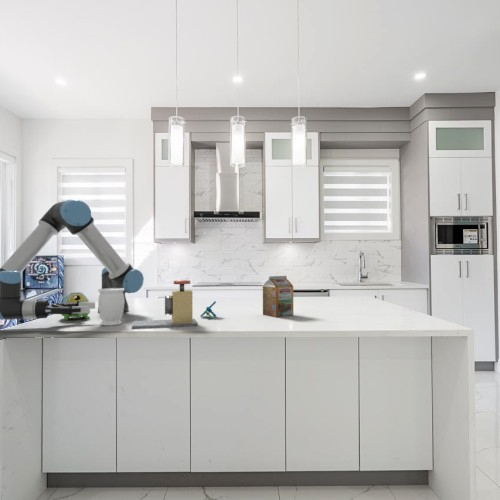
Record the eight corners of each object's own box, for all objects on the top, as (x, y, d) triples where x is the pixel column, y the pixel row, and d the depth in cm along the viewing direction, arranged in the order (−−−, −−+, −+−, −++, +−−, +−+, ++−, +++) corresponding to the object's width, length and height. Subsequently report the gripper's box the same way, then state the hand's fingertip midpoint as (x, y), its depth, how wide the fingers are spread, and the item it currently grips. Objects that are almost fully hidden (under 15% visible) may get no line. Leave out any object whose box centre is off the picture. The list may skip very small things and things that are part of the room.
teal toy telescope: (202, 311, 191) (216, 297, 189) (211, 320, 190) (225, 306, 188) (196, 318, 180) (210, 303, 178) (205, 327, 180) (219, 312, 178)
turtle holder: (65, 323, 168) (65, 295, 168) (58, 317, 183) (58, 292, 183) (95, 320, 175) (95, 294, 175) (86, 315, 190) (86, 291, 190)
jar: (115, 326, 159) (115, 289, 159) (93, 325, 161) (93, 289, 162) (128, 322, 170) (129, 287, 170) (107, 321, 172) (107, 287, 172)
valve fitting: (133, 323, 167) (133, 280, 167) (194, 320, 173) (194, 279, 174) (131, 328, 154) (132, 282, 155) (197, 325, 161) (197, 281, 161)
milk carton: (275, 317, 182) (275, 276, 183) (262, 314, 191) (262, 275, 191) (293, 315, 188) (293, 276, 188) (280, 313, 197) (279, 275, 197)
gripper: (45, 314, 170) (96, 312, 175) (26, 323, 146) (87, 321, 151) (45, 296, 170) (96, 295, 176) (26, 303, 146) (87, 301, 151)
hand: (92, 307), depth 163 cm, fingers open, 13 cm apart
